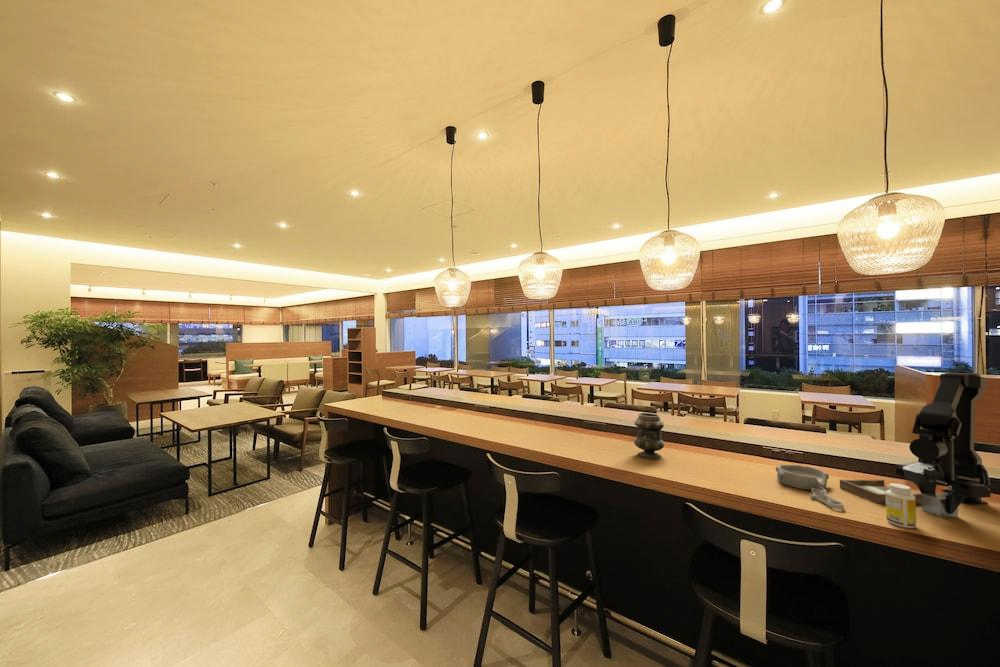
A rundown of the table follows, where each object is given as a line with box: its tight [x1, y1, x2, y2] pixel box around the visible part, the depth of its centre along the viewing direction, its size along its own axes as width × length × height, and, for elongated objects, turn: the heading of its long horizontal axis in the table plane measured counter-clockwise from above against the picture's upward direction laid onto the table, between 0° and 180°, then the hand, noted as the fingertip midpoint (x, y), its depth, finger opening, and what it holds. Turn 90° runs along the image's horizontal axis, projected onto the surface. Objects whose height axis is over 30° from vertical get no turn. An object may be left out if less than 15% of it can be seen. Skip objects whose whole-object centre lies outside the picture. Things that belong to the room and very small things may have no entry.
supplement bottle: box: [885, 482, 917, 529], centre depth 101 cm, size 6×6×10 cm
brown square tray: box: [839, 479, 922, 505], centre depth 120 cm, size 14×13×3 cm
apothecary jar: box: [633, 412, 665, 461], centre depth 162 cm, size 12×12×18 cm
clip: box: [921, 492, 959, 518], centre depth 107 cm, size 5×4×5 cm
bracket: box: [809, 487, 845, 510], centre depth 117 cm, size 8×2×15 cm
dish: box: [775, 464, 830, 491], centre depth 130 cm, size 14×14×5 cm
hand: (939, 509), depth 107 cm, fingers closed on clip, 4 cm apart
